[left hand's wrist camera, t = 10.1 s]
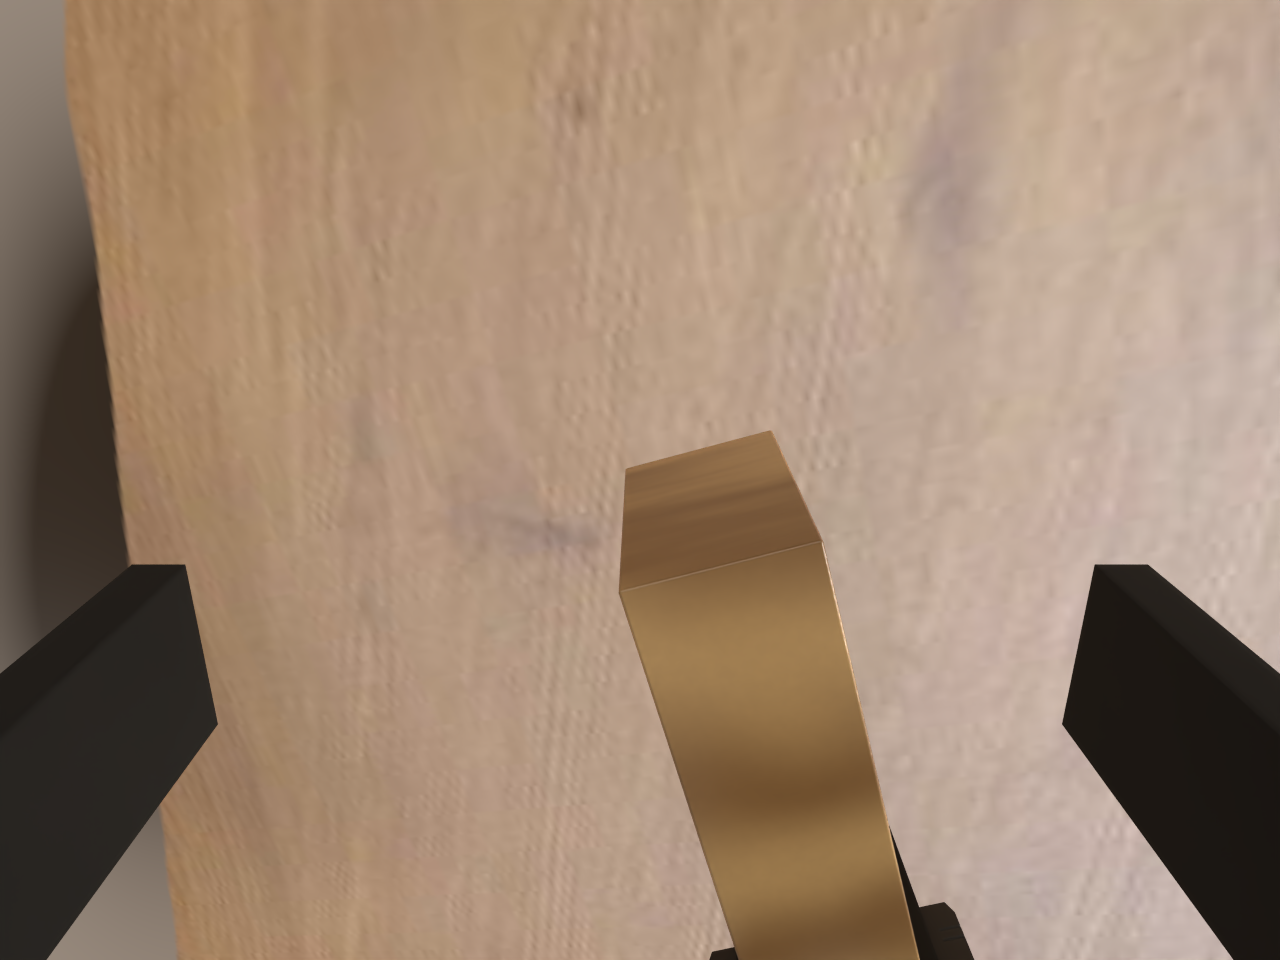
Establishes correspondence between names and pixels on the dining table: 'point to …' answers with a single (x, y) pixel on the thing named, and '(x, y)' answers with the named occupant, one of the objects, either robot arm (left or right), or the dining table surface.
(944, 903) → the right robot arm
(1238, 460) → the dining table surface
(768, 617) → the bar
